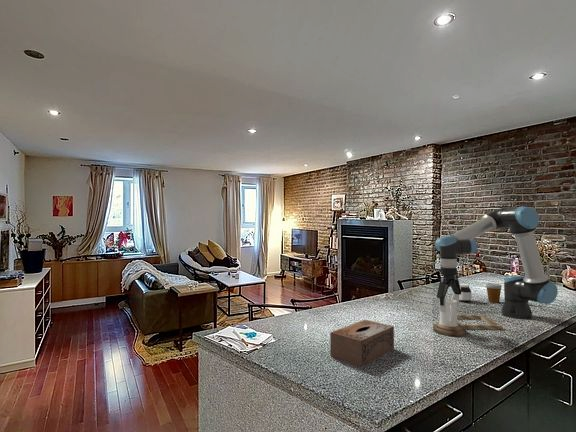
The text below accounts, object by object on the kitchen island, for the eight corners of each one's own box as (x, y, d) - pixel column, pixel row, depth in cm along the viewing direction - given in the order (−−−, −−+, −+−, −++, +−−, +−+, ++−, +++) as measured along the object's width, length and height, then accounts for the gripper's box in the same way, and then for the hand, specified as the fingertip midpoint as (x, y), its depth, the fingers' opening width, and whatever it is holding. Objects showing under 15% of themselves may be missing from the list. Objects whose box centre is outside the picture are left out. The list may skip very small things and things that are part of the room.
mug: (460, 329, 164) (460, 304, 164) (440, 328, 167) (440, 303, 167) (456, 322, 175) (456, 299, 175) (438, 321, 178) (438, 298, 178)
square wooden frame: (481, 318, 195) (481, 314, 195) (502, 329, 174) (502, 325, 174) (444, 318, 195) (444, 314, 195) (461, 329, 175) (461, 325, 175)
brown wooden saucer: (457, 327, 179) (457, 320, 179) (472, 336, 164) (472, 329, 164) (428, 326, 179) (428, 320, 179) (440, 336, 164) (440, 329, 164)
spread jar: (473, 303, 232) (473, 285, 232) (456, 303, 232) (456, 285, 233) (464, 299, 244) (464, 282, 244) (448, 299, 244) (448, 282, 244)
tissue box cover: (360, 367, 130) (360, 340, 130) (330, 357, 140) (330, 332, 140) (394, 349, 148) (393, 326, 148) (364, 341, 158) (364, 319, 158)
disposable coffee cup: (486, 299, 241) (486, 282, 241) (502, 301, 236) (502, 284, 236) (485, 302, 233) (484, 284, 234) (501, 304, 228) (501, 286, 228)
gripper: (453, 263, 183) (454, 304, 182) (428, 268, 167) (429, 312, 167) (467, 265, 177) (469, 306, 176) (443, 270, 161) (444, 315, 161)
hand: (449, 309), depth 172 cm, fingers open, 13 cm apart
